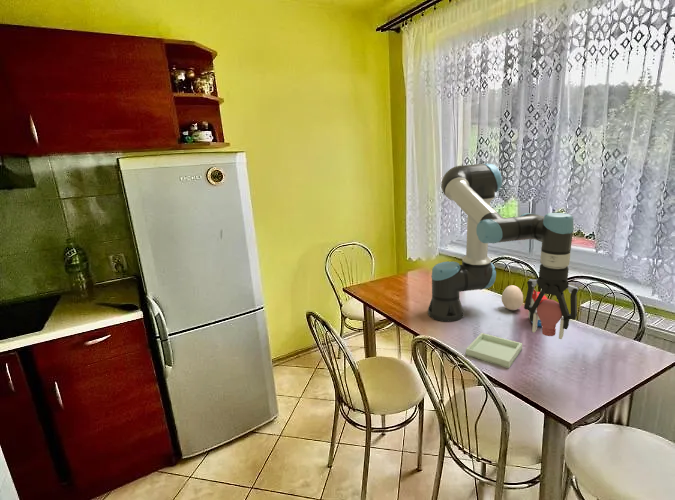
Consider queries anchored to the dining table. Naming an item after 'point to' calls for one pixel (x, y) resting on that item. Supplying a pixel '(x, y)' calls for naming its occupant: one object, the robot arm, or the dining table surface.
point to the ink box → (534, 297)
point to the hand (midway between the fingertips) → (547, 333)
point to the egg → (512, 297)
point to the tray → (494, 350)
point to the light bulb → (549, 316)
